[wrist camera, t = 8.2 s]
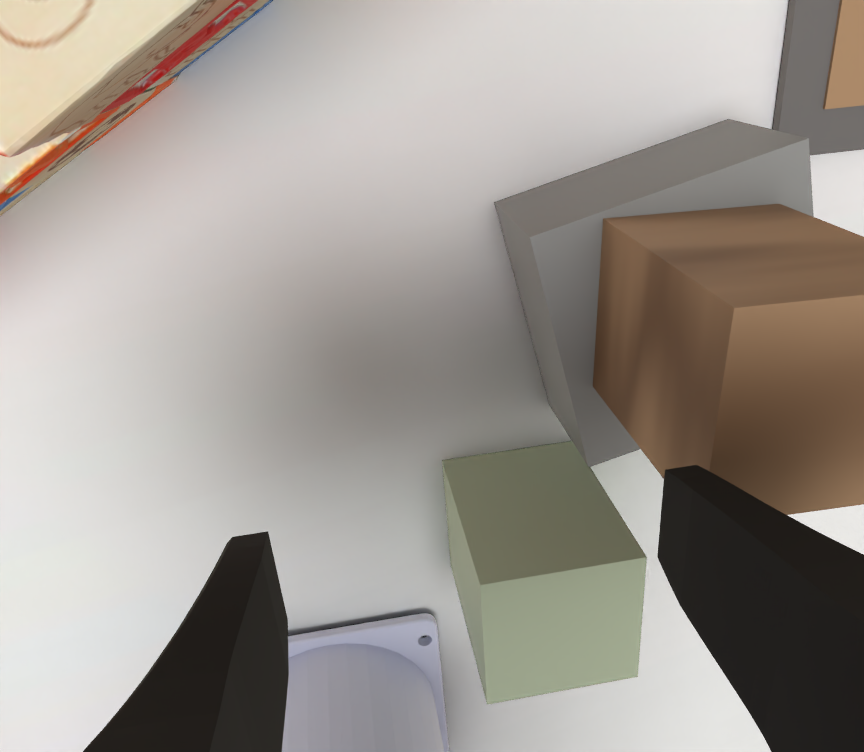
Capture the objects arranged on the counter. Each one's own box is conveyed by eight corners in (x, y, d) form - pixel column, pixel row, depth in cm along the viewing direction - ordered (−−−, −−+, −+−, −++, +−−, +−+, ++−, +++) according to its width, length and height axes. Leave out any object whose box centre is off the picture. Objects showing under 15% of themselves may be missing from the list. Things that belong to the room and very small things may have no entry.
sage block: (571, 544, 27) (637, 676, 21) (450, 564, 26) (487, 704, 21) (572, 440, 25) (646, 557, 19) (442, 459, 24) (480, 585, 19)
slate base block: (747, 329, 24) (823, 384, 20) (546, 401, 24) (588, 467, 20) (722, 118, 21) (808, 138, 17) (491, 199, 21) (529, 237, 17)
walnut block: (751, 368, 20) (913, 497, 15) (592, 386, 19) (700, 526, 14) (779, 203, 18) (979, 283, 13) (603, 218, 17) (734, 307, 12)
